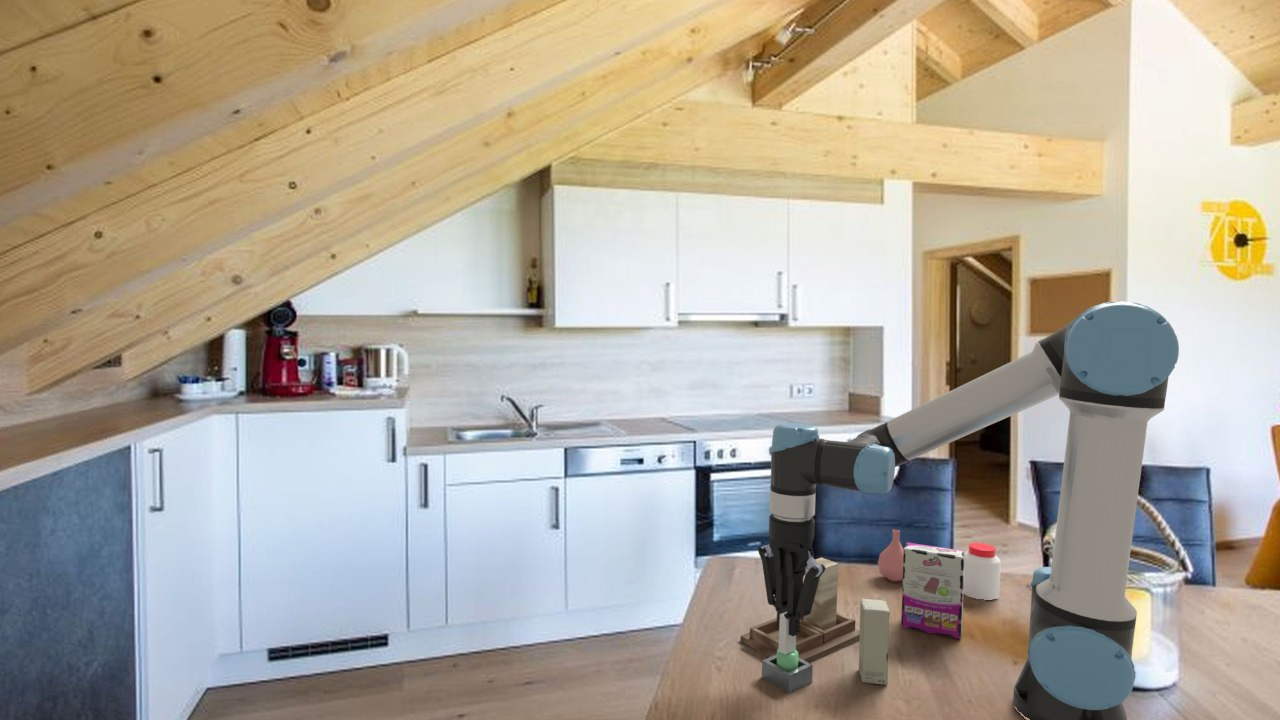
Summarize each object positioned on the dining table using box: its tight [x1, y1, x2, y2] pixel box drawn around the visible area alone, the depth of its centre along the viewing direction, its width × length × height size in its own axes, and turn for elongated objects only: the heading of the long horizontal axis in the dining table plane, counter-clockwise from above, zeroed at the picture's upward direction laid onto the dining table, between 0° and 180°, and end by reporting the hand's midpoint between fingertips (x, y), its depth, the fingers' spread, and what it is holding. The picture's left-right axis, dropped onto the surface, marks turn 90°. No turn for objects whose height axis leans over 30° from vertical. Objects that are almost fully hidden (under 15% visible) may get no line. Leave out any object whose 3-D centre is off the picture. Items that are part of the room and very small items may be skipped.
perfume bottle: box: [877, 529, 904, 582], centre depth 161 cm, size 8×8×12 cm
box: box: [858, 598, 891, 686], centre depth 116 cm, size 5×4×13 cm
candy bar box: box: [900, 542, 966, 640], centre depth 135 cm, size 11×5×16 cm, turn 62°
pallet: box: [739, 557, 860, 663], centre depth 130 cm, size 13×21×14 cm, turn 127°
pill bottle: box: [963, 542, 1002, 601], centre depth 153 cm, size 8×8×11 cm
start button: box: [777, 648, 798, 672], centre depth 115 cm, size 4×4×4 cm
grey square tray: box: [761, 654, 814, 694], centre depth 115 cm, size 6×6×3 cm
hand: (787, 650), depth 115 cm, fingers closed
